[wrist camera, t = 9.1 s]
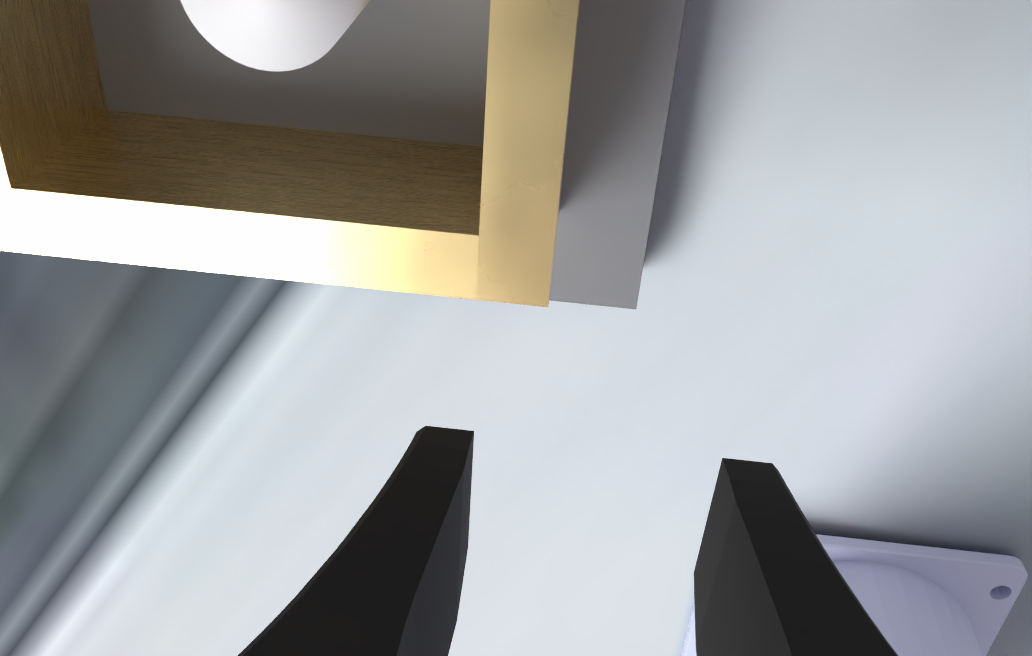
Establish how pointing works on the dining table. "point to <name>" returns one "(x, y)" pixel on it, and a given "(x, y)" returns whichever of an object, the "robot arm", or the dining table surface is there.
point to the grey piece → (417, 94)
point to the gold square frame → (287, 173)
